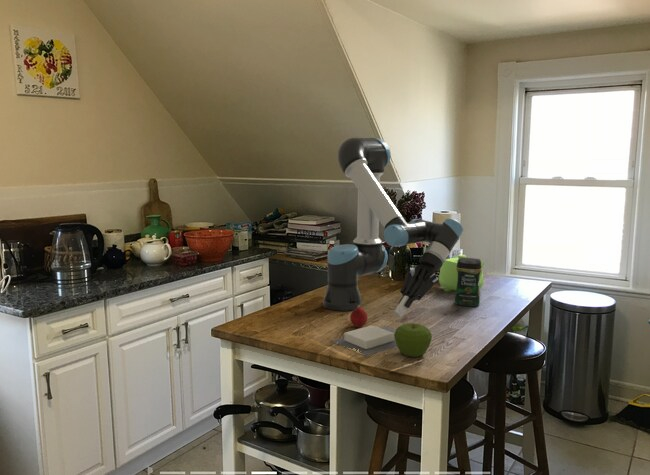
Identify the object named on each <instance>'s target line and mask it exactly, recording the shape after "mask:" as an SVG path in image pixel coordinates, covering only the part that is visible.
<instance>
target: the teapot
mask: <svg viewBox="0 0 650 475" xmlns="http://www.w3.org/2000/svg"><path fill="white" fill-rule="evenodd" d="M459 258H467V255H465V254H458V255H457V257H451V258H446V260H445V262H444V263H443V265H442V267H441V268H440V270H439V277H438V279H439V281H438V283H439V285H440V286H441V287H443V288H444V289H443V292H449V293H450V292H452V291H455V292H456V288H457V280H458V272H457V269H456V267H457V262H458V259H459ZM484 265H485V262H484V261H482V260H481V267H482V268H483V267H484ZM483 285H484V274H483V269H482V270H481V273H480V278H479V290H481V289H482V287H483Z"/></svg>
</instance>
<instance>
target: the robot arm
mask: <svg viewBox="0 0 650 475" xmlns="http://www.w3.org/2000/svg"><path fill="white" fill-rule="evenodd" d="M391 157H392V156H391V149H390V146H389V145H388V144H387V143H386V141H385V140H383V139H380V138H376V137H350V138H347V139H345V140H344V141H343V142H341V144H340V146H339V148H338V150H337V162H338V166H339V168H340V169H341V172H342V173H343V174H344V175H345V177H346V178H350V180H351V182H352V183H353V185H355V187H356V188H357V215H356V216H357V224H356V237H355V238H354V239H353V240H352V243H351V244H349V243H346V244H338V245H335V246H332V247H330V248H329V250H328V251H327V252H328V253H327V259H326V260H327V261H326V262H327V288H326V291H325V294H324V296H323V300H322V301H323V302H322V306H323V307H324V308H325V309H328V310H331V311H347V312H348V311H353V310H355V309H356V308H357V307H358V306H359V305H360V306H361V307H362V306H363V300H362V296H361V292H360V289H359V287H358V285H359V284H358V278H359V277H363V276H367V275H373V274H376V273H378V272H380V271H382V270H384V268H385V267H386V265H387V262H388V257H389V256H388V251H387V250H386V247H385V246H384V245H383V240H382V239H381V238H380V237H379V235H380V234H379V229H380V228H379V226H380V224H381V225H382V227H383V229H384V232H383V237H384V241H385V243H386V244H387V245H388V246H390V247H403V246H406V245H412V244H413V245H414V244H419V243H423V242H424V243H428V246H427V247H426V248H425V251H424V252H423V253H422V255H421V257H420V258H419V260H418V264H417V265H416V266H415V267H414V269H410V268H408V269H407V270H406V275H405V278H404V281H403V282H402V283H403V284H402V285H401V288H400V291H399V292H400V294H402V297H401V298H400V300H399V302H398V305H397V307H396V308H395V310H394V313H396V315H397V316H398V317H401V318H402V317H403V316H404V314H406V310H407V309H409V308H411V305H412V304H413V302H415V301H418V302H419V301H420V300H421V299H422V298H424V296H425V295H426V294H427V293H428V292H429V291H430V290H431V288H432V287H434V285H435V284H438V283H439V277H438V276H437V273H440V268H441V267H442V265H443V263H444V262H445V260H446V259H448V257H449V255H450V254H451V252H452V250H453V249H454V247H455V246H456V244H457V243H458V241H459V240H460V238H461V236H462V234H463V232H464V227H463V225H462V224H461V223H460V221H458V220H456V219H455V218H446V219H445V220H444V221H443V222H442V223H439V222H433V221H429V220H425V219H420V218H419V219H418V218H412V219H411V220H410V221H409V222H407V221H406V219H405V218H404V216H403V215H402V214H401V213H400V211H399V210H398V208H397V207H396V205H395V204H394V203H393V201H392V200H391V198H390V196H389V195H388V194H387V192H386V191H385V190H384V188H383V187H382V185H381V176H383V175H384V174H385V167H387V166H388V165H389V163H390V161H391ZM379 223H380V224H379Z"/></svg>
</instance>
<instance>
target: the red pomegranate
mask: <svg viewBox="0 0 650 475" xmlns="http://www.w3.org/2000/svg"><path fill="white" fill-rule="evenodd" d="M349 320H350V322H351V324H352V325H353V326H354V327H355V328H357V329H360V328H363V327H364V325H366V324H367V322H368V313H367V312H366V311H365V310H364V309H363V308H362V306H360V305H359V306H358V307H357V308H356V309H355V310H352V311H351V313H350V318H349Z"/></svg>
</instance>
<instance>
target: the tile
mask: <svg viewBox="0 0 650 475" xmlns="http://www.w3.org/2000/svg"><path fill="white" fill-rule="evenodd" d="M379 327H380V326H379ZM379 327H378V326H376V325H373V324H372V325H368V326H363V327H359V328H356V329H353V330H350V331H347V332H346V331H344V333H343V336H344V340H345V341H347V342H350V343H352V344H354V345H357V346H359V347H362V348H364V349H369V348H372V347H375V346H378V345H382V344H385V343H388V342H391V341H394V333H393V332H390V331H387V330H384V329H381V328H379Z"/></svg>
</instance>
